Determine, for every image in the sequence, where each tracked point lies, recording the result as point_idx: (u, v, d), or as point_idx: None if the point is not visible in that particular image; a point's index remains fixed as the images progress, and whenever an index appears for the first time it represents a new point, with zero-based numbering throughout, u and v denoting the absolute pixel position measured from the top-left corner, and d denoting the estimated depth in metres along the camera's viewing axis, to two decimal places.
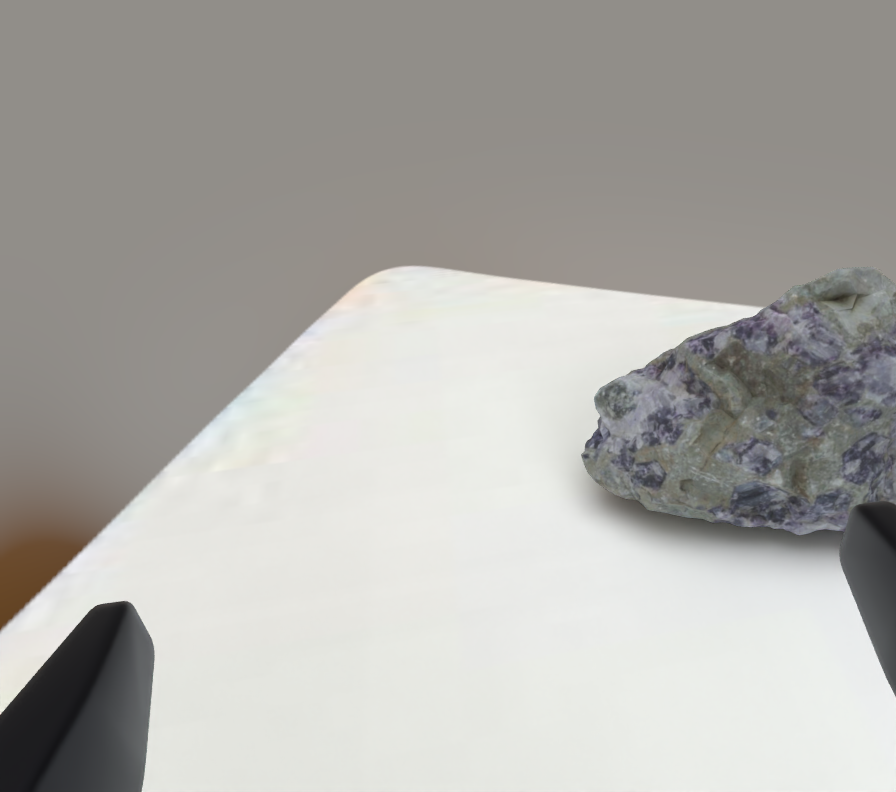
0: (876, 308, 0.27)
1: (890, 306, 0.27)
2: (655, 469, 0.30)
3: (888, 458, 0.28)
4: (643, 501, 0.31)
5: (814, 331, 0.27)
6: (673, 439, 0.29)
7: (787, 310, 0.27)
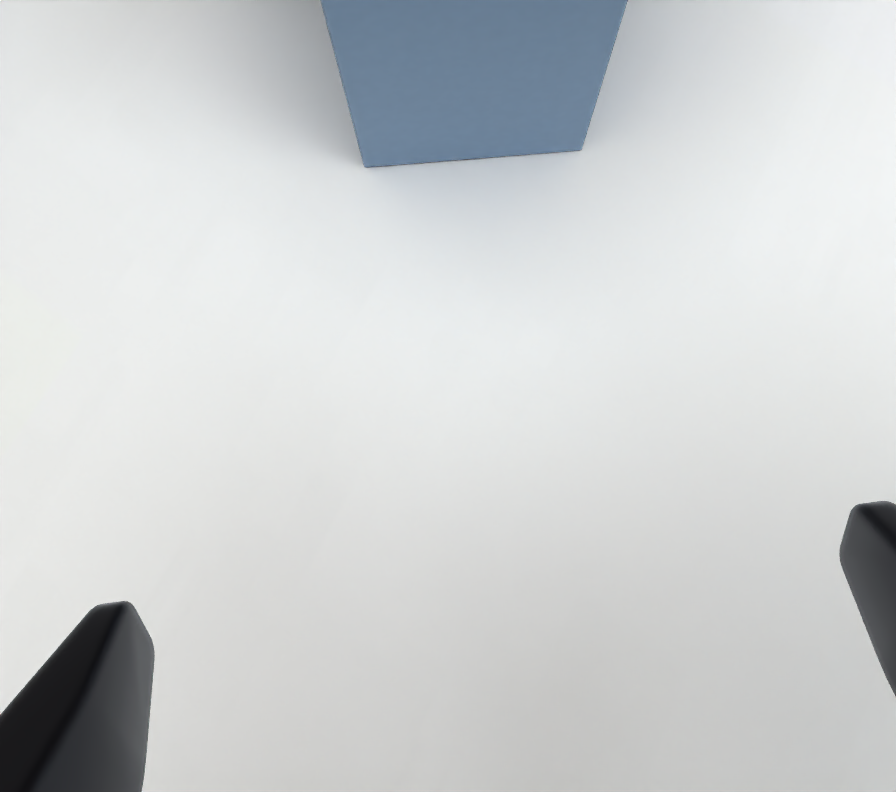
0: None
1: None
2: None
3: None
4: None
5: None
6: None
7: None
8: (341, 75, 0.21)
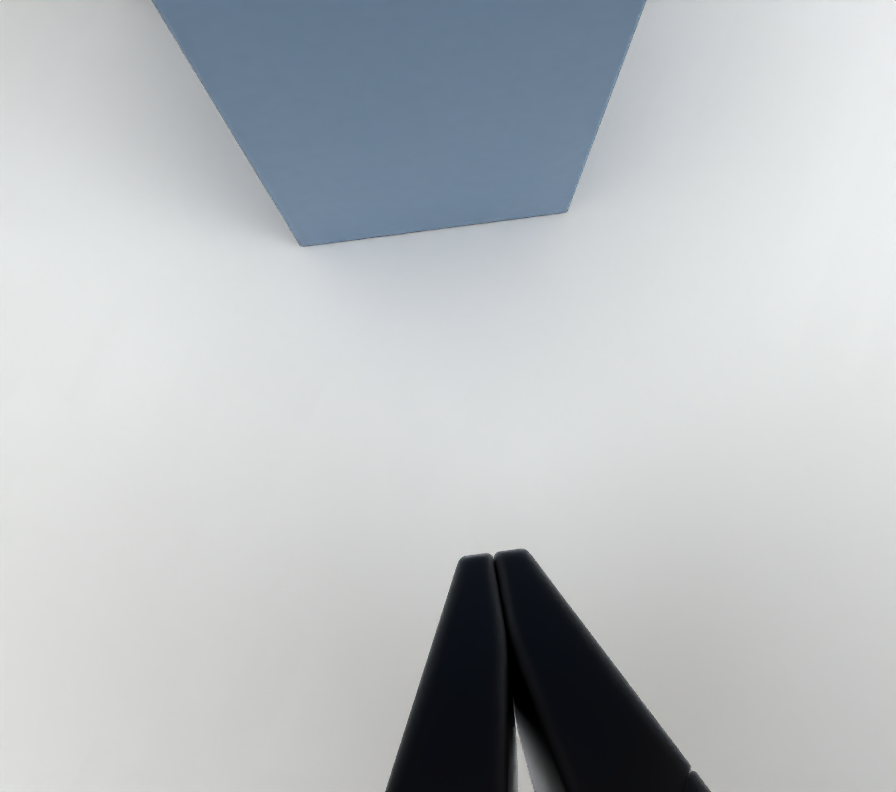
0: None
1: None
2: None
3: None
4: None
5: None
6: None
7: None
8: (249, 161, 0.16)
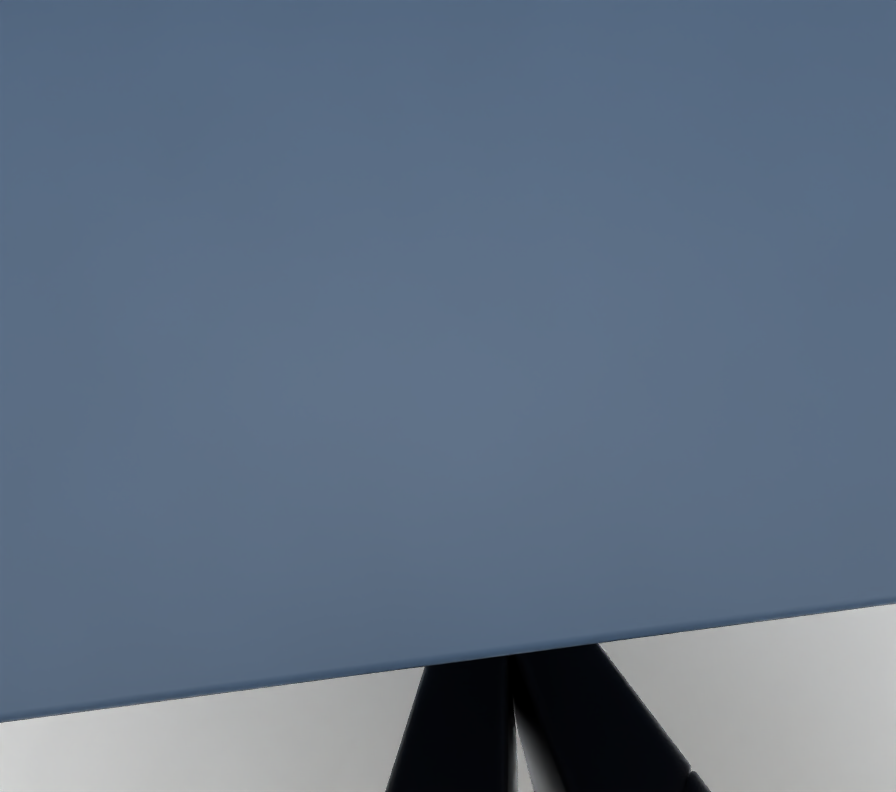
0: None
1: None
2: None
3: None
4: None
5: None
6: None
7: None
8: None
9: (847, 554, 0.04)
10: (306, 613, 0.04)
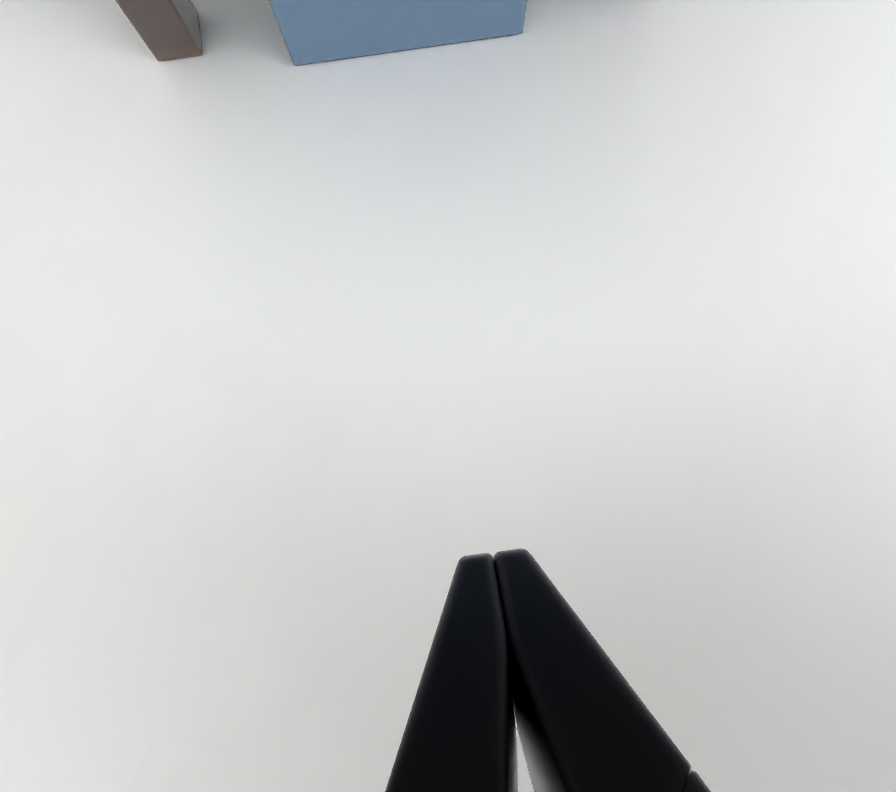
0: None
1: None
2: None
3: None
4: None
5: None
6: None
7: None
8: None
9: None
10: None
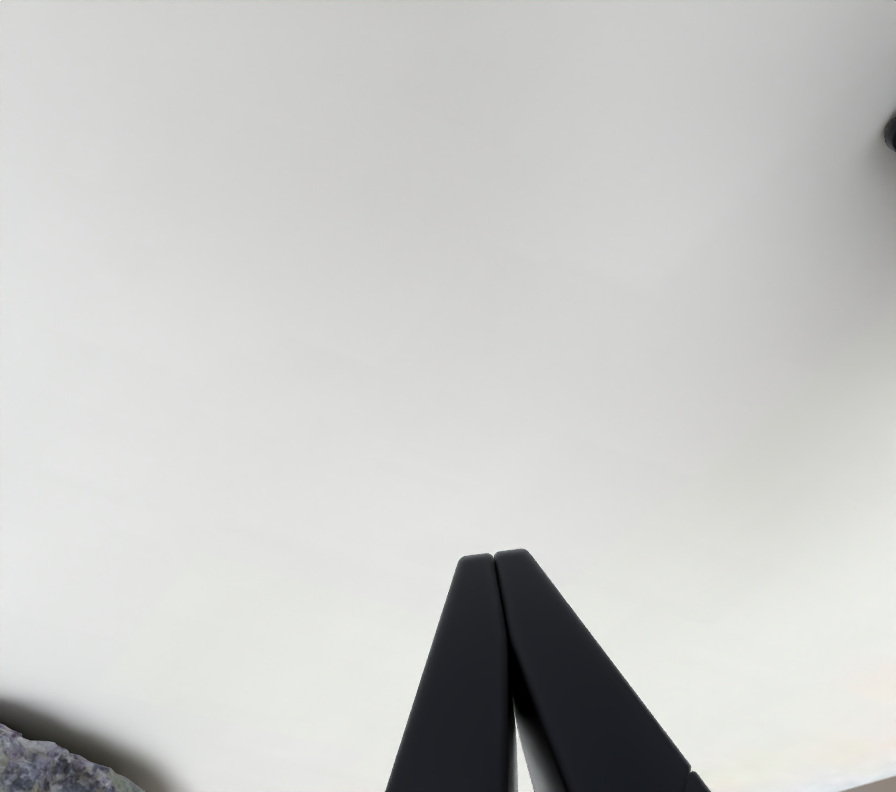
0: None
1: None
2: None
3: None
4: None
5: None
6: None
7: None
8: None
9: None
10: None
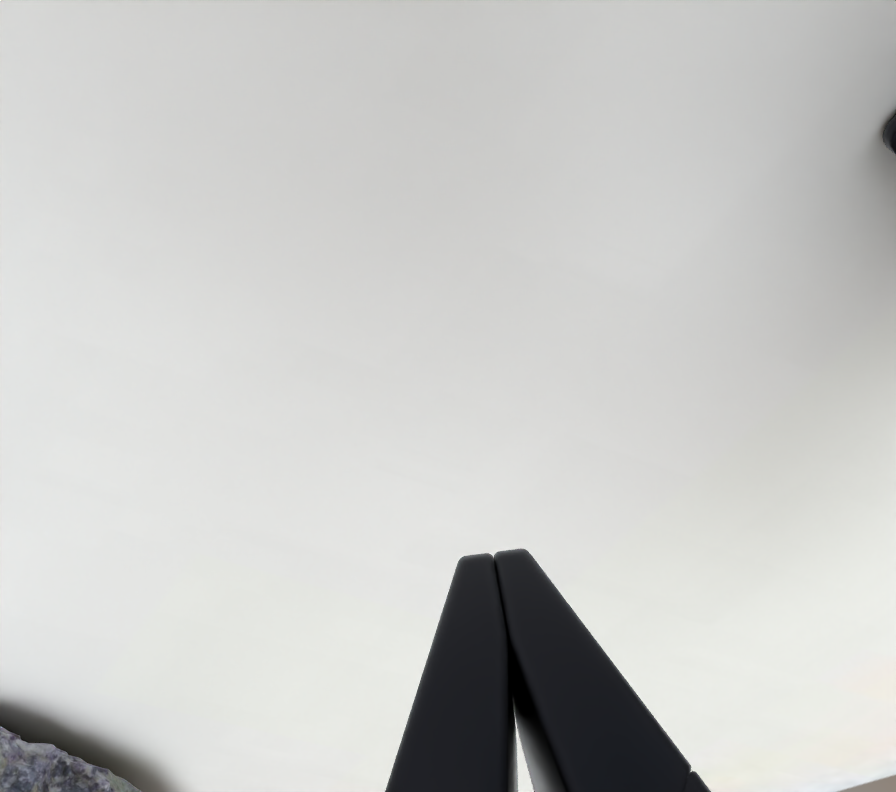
0: None
1: None
2: None
3: None
4: None
5: None
6: None
7: None
8: None
9: None
10: None
